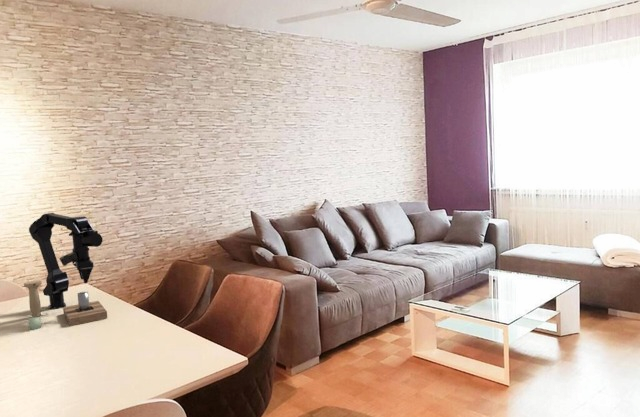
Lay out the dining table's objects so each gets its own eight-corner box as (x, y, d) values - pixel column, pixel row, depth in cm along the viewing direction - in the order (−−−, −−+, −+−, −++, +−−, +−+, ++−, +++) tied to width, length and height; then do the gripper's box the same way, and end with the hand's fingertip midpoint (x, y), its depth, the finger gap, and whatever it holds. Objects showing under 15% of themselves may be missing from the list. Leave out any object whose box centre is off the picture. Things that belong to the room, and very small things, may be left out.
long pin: (79, 316, 204) (76, 292, 203) (89, 313, 206) (87, 291, 205) (80, 318, 201) (78, 294, 200) (90, 316, 203) (88, 293, 202)
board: (63, 313, 208) (63, 307, 208) (98, 307, 216) (98, 300, 215) (69, 326, 191) (68, 318, 191) (107, 318, 199) (106, 311, 199)
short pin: (28, 328, 192) (27, 318, 191) (40, 325, 194) (39, 316, 193) (29, 330, 188) (28, 320, 188) (41, 328, 190) (40, 318, 190)
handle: (46, 315, 206) (42, 281, 205) (29, 319, 202) (25, 284, 200) (43, 313, 210) (39, 279, 208) (26, 317, 205) (22, 283, 204)
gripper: (57, 245, 213) (61, 280, 214) (62, 251, 197) (66, 288, 199) (85, 242, 219) (88, 276, 220) (92, 247, 203) (95, 283, 205)
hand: (84, 281), depth 211 cm, fingers open, 9 cm apart
